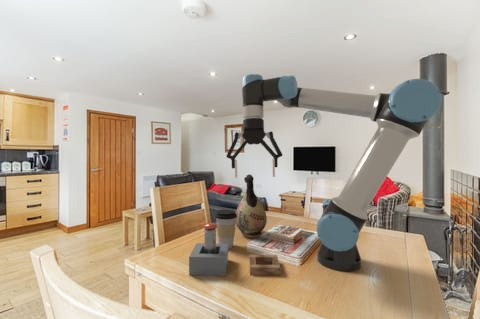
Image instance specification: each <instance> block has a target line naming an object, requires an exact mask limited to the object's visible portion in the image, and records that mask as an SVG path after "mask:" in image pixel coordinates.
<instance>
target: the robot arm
mask: <svg viewBox="0 0 480 319" xmlns="http://www.w3.org/2000/svg"><path fill="white" fill-rule="evenodd" d="M241 91H242V92H241V93H242V94H241V95H242V118H243V121H242V127H243V128H242V130H243V132H237V131H236V132H234V139H233V141H232V144H231V145H230V148H229V150H228V152H227V154H226V158H228V159H230V160H231V168H232V169H234V178H235V179H237V178H238V160H237V159H236V158H237V156H238V155H239V154H240V153H241V151H242V150H243V149H244V148H245V147H246V145H247V144H248V145H249V146H250V145H260V144H261V146H263V148H264V149H265V150H266V151H267V152H268V153H269V155H270V156H271V157H273V158H271V163H270V164H271V177H272V178H275V177H276V171H275V170H276V168H278V165H279V164H278V160H279V158H281V157H283V153H282V151H281V148H280V147H279V146H278V145H279V144H278V143H277V141H276V140H275V138H274V132H273V131H271V130H270V131H267V132H265V123H264V119H263V118H264V102H269V101H270V102H271V101H277V102H279V104H281V105H282V106H283V107H286V108H289V109H291V108H298V109H307V110H313V111H321V112H326V113H328V112H329V113H335V114H341V115H348V116H355V117H361V118H369V120H371V121H372V122H374V123H375V122H376V125H377V129H376V131H375V133H374V134H373V136H372V138H371V140H370V141H369V142H368V145H367V147H366V148H365V150H364V152H363V154H362V155H361V157H360V159H359V161H358V162H357V164H356V166H355V168H354V169H353V170H352V172H351V174H350V175H349V176H350V177H349V178H348V180H347V181H346V183H345V185H344V187H343V188H342V190H341V192H340V193H339V195H338V196H335V197H331V199H327V198H326V199H324V200H323V202H322V215H321V216H320V218H319V220H318V221H317V224H316V235H317V237H318V239H319V240H320V245H319V248H318V250H317V252H316V256H317V257H316V258H317V261H318V262H319V264H321V265H322V266H325V267H326V268H328V269H332V270H336V271H343V272H354V271H357V270H359V269H361V267H362V258H361V254H360V252H359V249H358V245H357V243H358V240H359V238H360V237H359V235H360V233H361V230H362V229H363V227H364V226H365V224H366V222H367V221H368V219H369V217H368V214H367V210H368V208H369V207H370V204H372V201H373V200H374V198H375V196H376V195H377V193H378V191H379V190H380V188H381V187H382V186H383V184H384V182H385V180H386V178H387V177H388V175H389V173H390V172H391V170H392V169H393V167H394V165H395V164H396V162H397V160H398V159H399V157H400V156H401V153H402V152H403V150H404V149H405V148H406V145H407V143H408V142H409V140H411V139H414V138H418V137H419V136H420V134H421V133H422V131H423V129H424V128H425V126H426V125H427V123H428V122H429V119H431V118H432V117H434V116H435V115H436V114H437V113H438V112H439V110H440V108H441V106H442V103H443V95H442V93H441V90H440V88H439V87H438V86H437V85H436V84H435V83H434V82H432V81H430V80H428V79H424V78H412V79H407V80H405V81H403V82H401V83H399V84H398V85H396V86H395V87H394V88H393V89H392V91H391V92H390V93H383V92H380V93H379V92H378V93H377V94H376V95H373V94H372V95H371V94H363V93H362V94H361V93H353V92H345V91H335V90H334V91H333V90H325V89H317V88H316V89H315V88H307V87H306V88H305V87H298V81H297V78H296V76H294V75H283V76H278V77H273V78H267V79H266V78H265V79H263V75H261V74H258V73H255V74H253V73H250V74H247V75H244V76H243V78H242V86H241ZM241 137H242V138H243V139H244V141H243V142H242V144H241V145H240V146H239V147H238V149H237V150H235V153H233V151H234V149H235V147H236V144H237V142H238V140H240V139H241ZM265 137H267V139H269V141H270V143H271V145H272V147H273V148H274V150H275V151H274V150H273V149H272V148H271V147H270V146H269V145H268V144H267V142H266V141H265V140H264V139H265ZM275 152H276V153H275ZM232 154H233V155H232Z"/></svg>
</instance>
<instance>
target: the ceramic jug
mask: <svg viewBox="0 0 480 319" xmlns="http://www.w3.org/2000/svg"><path fill="white" fill-rule="evenodd" d="M243 181H244V183H246V191H245V194H244V195H243V197H241V198H242V199H241V200H240V202H239V204H238V206H237V207H236V211H235V213H236V214H237V217H236V226H235V227H236V228H238V230H239V231H240V232H241V234H242V236H243V237H246V238H257V237H260V236H261V235H262V232H263V231H264V229H265V227H266V225H267V221H268V220H267V213H266V210H265V208H264V205H263V203H262V202H261V200H260V199H259V197H258V196H257V195H256V193H255V190H254V176H253V175H252V174H250V173H249V174H247V175H246V176H245V177H244V180H243Z"/></svg>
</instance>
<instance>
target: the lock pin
mask: <svg viewBox="0 0 480 319" xmlns="http://www.w3.org/2000/svg"><path fill="white" fill-rule="evenodd" d="M216 223H217V222H205V223H203V228H204V243H205V249H204V254H216V244H217V224H216Z"/></svg>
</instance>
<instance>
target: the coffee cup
mask: <svg viewBox="0 0 480 319" xmlns="http://www.w3.org/2000/svg"><path fill="white" fill-rule="evenodd" d="M214 217H215V218H216V222H215V223H216V224H217V228H216V235H217V239H218V244H228V250H230V249H232V248H233V247H234V239H235V234H236V227H237V226H236V217H237V214H236V211H235V210H233V209H219V210H217V211H216V213H215V214H214Z"/></svg>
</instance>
